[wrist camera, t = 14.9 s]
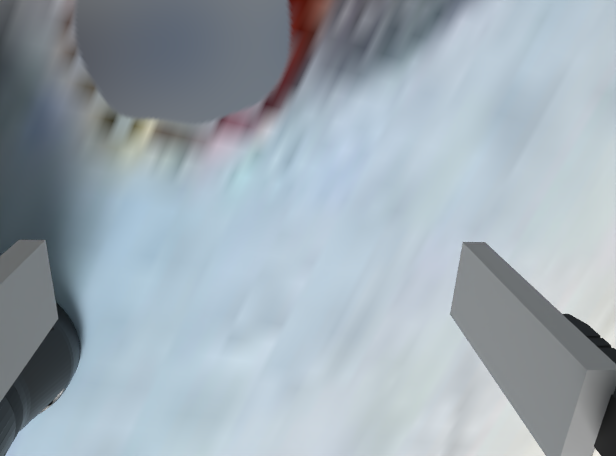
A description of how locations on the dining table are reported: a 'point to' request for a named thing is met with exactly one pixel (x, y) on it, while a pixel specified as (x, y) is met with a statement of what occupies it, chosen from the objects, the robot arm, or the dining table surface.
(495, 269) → the robot arm
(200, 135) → the dining table surface
